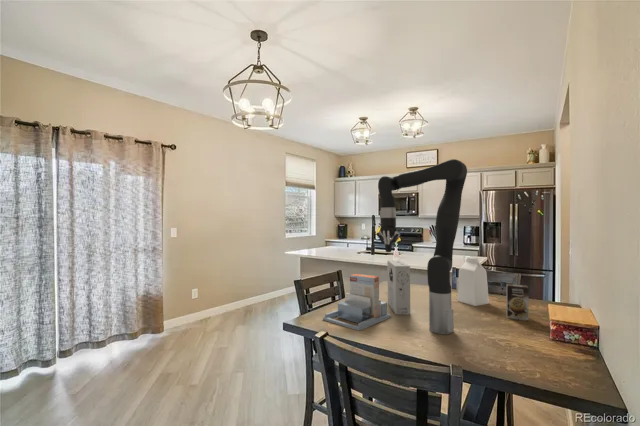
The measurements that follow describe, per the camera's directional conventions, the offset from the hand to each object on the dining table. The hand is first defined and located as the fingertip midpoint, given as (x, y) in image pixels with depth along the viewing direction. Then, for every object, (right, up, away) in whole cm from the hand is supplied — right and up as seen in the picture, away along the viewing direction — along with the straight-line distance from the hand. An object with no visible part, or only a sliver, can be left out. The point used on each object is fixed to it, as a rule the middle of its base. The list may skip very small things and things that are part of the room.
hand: (388, 252), depth 156 cm
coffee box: (+64, -33, 0) cm, 72 cm away
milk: (+56, -33, +29) cm, 71 cm away
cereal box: (+9, -33, +17) cm, 39 cm away
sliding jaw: (-17, -33, -1) cm, 37 cm away
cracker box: (-11, -33, +4) cm, 35 cm away
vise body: (-15, -33, +1) cm, 37 cm away
